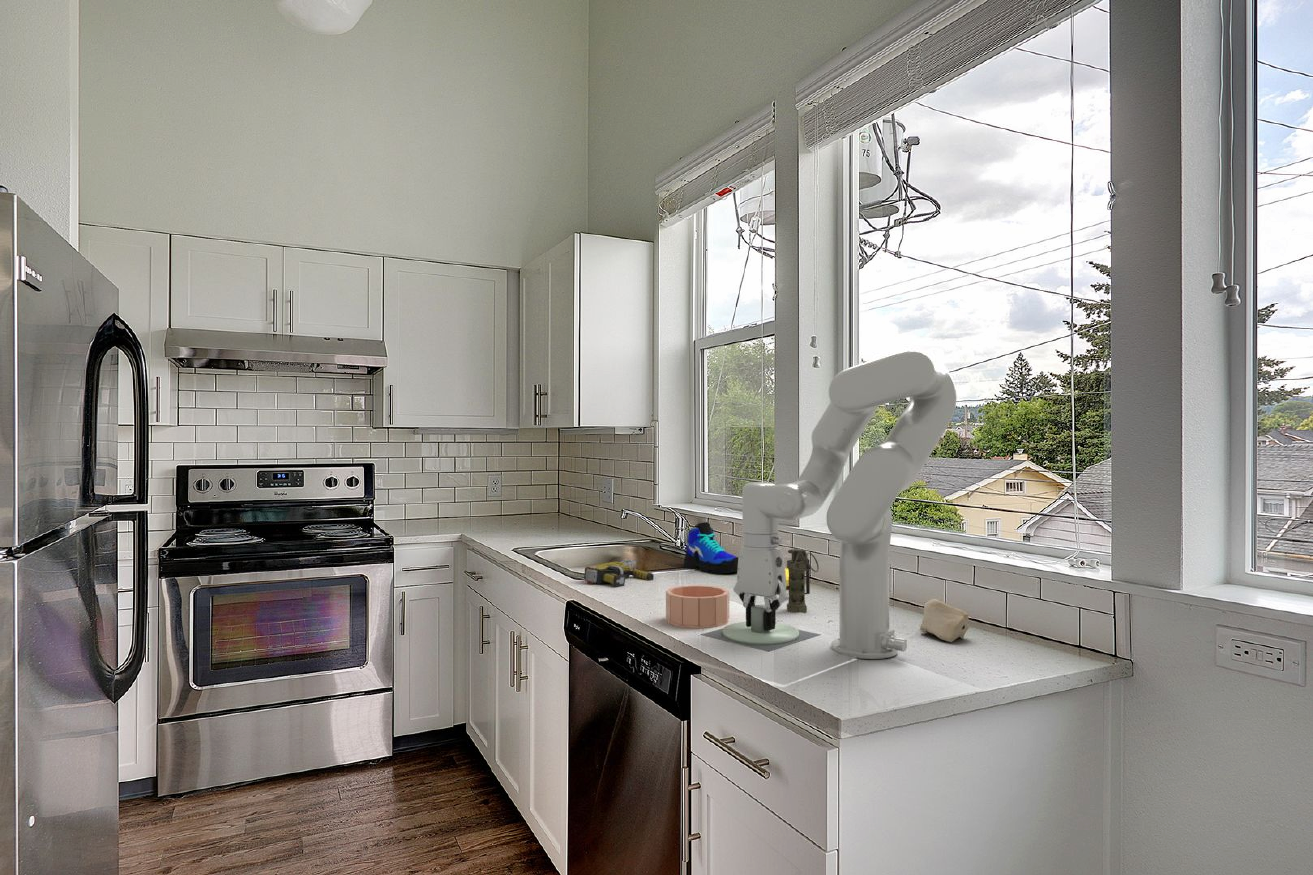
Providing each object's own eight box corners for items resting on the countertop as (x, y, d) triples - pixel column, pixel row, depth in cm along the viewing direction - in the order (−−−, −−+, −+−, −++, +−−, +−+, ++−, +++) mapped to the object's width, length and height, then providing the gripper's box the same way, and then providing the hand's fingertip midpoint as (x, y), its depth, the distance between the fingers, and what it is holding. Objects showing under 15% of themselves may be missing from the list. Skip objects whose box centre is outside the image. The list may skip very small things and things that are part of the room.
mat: (820, 636, 164) (820, 634, 164) (768, 653, 152) (768, 651, 152) (753, 622, 177) (753, 619, 177) (700, 636, 165) (700, 634, 165)
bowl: (741, 622, 177) (741, 591, 177) (699, 633, 167) (699, 600, 167) (695, 612, 187) (695, 583, 187) (654, 622, 177) (654, 591, 177)
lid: (814, 634, 164) (814, 606, 164) (767, 649, 153) (767, 619, 153) (754, 621, 176) (754, 595, 176) (706, 634, 165) (706, 607, 165)
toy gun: (668, 566, 237) (626, 557, 244) (627, 575, 216) (582, 565, 223) (667, 581, 237) (625, 572, 244) (625, 592, 216) (580, 582, 223)
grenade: (795, 616, 182) (795, 552, 182) (779, 611, 187) (779, 549, 187) (824, 612, 187) (824, 549, 186) (808, 607, 192) (808, 546, 192)
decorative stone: (931, 627, 173) (931, 595, 173) (975, 641, 161) (975, 606, 161) (905, 630, 170) (905, 597, 170) (948, 645, 158) (948, 609, 158)
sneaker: (724, 577, 233) (724, 527, 232) (677, 566, 252) (677, 520, 252) (747, 574, 238) (747, 525, 238) (700, 563, 257) (700, 518, 257)
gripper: (803, 543, 161) (803, 631, 161) (740, 535, 173) (741, 618, 173) (782, 546, 156) (782, 638, 156) (718, 538, 168) (718, 623, 168)
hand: (760, 626), depth 165 cm, fingers closed on lid, 4 cm apart
